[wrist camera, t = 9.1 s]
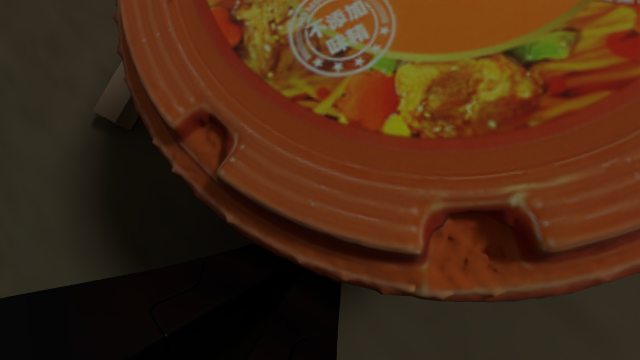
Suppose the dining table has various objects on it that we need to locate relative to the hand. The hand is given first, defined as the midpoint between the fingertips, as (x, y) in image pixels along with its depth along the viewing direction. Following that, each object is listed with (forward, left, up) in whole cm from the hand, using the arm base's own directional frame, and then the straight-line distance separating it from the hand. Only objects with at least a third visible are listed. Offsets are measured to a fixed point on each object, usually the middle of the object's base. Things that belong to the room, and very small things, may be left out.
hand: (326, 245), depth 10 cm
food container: (+5, -5, -7) cm, 10 cm away
